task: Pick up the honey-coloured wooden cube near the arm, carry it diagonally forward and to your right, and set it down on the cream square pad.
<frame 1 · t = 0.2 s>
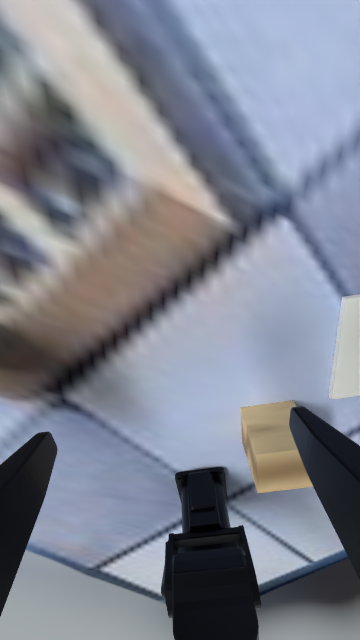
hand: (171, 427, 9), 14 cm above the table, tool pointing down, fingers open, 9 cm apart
wood cube: (266, 422, 29), on the table
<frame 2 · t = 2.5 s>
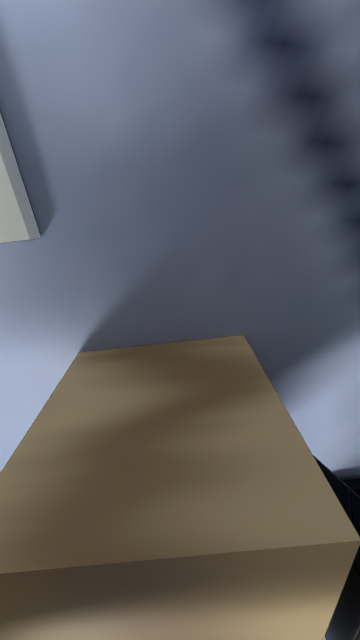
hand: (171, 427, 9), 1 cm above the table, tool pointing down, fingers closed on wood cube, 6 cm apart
wood cube: (170, 406, 10), on the table, touching gripper
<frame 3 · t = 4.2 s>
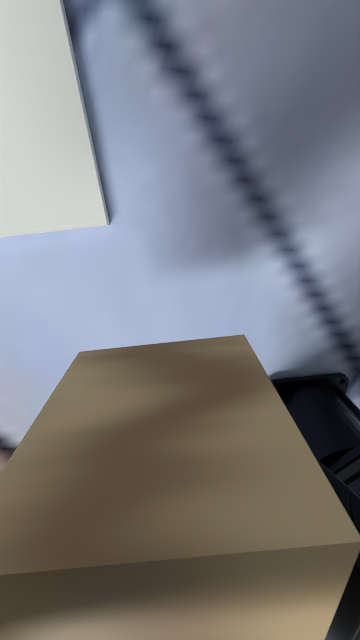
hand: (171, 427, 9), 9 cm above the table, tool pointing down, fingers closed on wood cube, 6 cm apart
wood cube: (171, 406, 10), point 8 cm above the table, touching gripper
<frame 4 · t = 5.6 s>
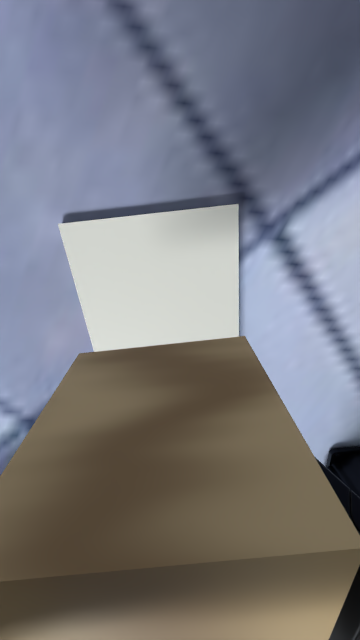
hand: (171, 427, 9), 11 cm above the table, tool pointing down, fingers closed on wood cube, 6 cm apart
wood cube: (171, 407, 10), point 10 cm above the table, touching gripper
cream pad: (160, 297, 19), on the table
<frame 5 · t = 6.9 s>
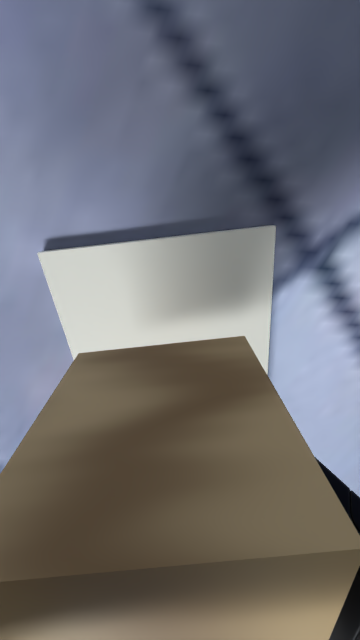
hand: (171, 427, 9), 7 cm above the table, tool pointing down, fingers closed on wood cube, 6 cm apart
wood cube: (171, 407, 10), point 6 cm above the table, touching gripper
cream pad: (170, 338, 15), on the table
when the fingers open (3 cm above the table, at t = 8.2 s): wood cube drops 1 cm, resting on cream pad.
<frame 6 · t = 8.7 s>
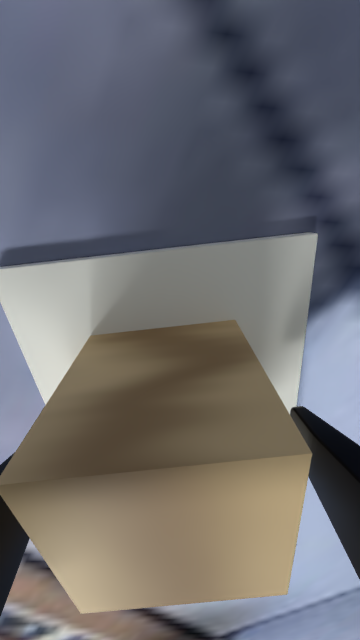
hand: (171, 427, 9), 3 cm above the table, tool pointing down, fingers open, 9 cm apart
wood cube: (171, 385, 11), point 1 cm above the table, touching cream pad
cream pad: (170, 376, 12), on the table
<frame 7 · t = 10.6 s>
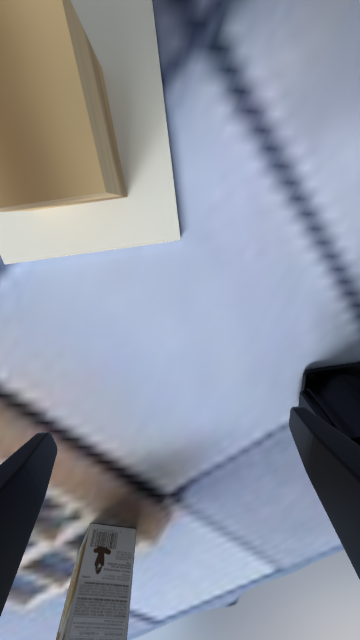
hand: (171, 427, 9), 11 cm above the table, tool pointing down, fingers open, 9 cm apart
coffee box: (106, 540, 33), on the table
wood cube: (63, 146, 14), point 1 cm above the table, touching cream pad
cream pad: (67, 147, 14), on the table
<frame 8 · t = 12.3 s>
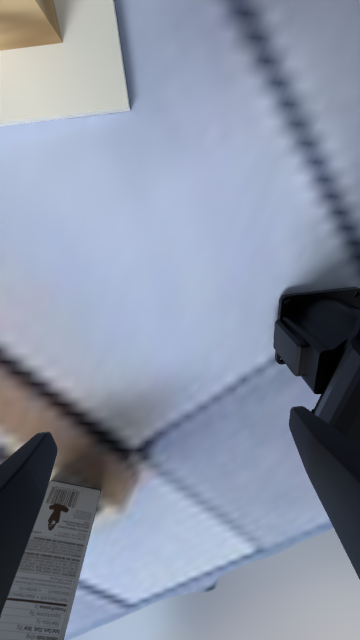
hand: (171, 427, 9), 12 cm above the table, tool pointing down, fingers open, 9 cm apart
coffee box: (69, 503, 31), on the table
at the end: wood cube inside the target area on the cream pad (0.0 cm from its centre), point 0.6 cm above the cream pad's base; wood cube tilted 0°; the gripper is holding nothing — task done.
